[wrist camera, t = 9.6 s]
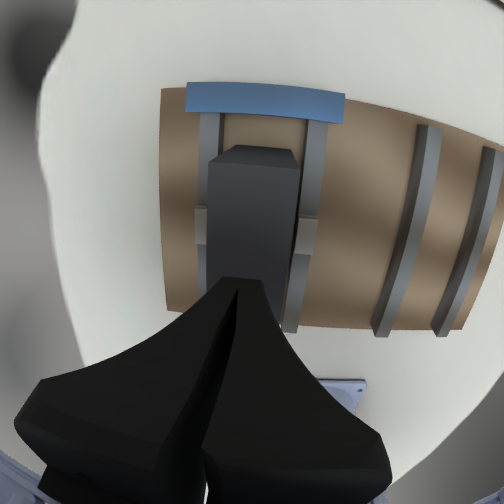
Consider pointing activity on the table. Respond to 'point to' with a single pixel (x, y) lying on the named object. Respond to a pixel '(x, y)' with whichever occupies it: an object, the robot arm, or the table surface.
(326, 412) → the robot arm
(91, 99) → the table surface
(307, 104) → the board
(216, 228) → the dark grey tall block
